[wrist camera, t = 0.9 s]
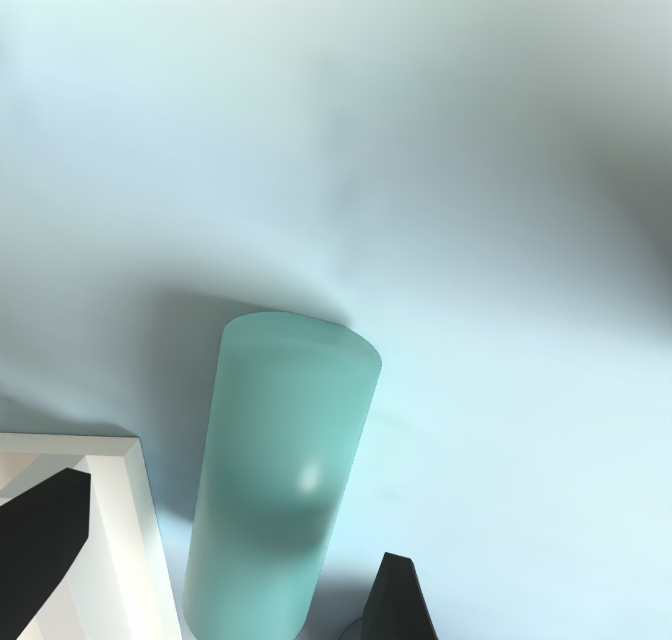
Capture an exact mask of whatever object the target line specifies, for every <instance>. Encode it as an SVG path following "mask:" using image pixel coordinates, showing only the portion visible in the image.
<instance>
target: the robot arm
mask: <svg viewBox="0 0 672 640" xmlns="http://www.w3.org/2000/svg"><path fill="white" fill-rule="evenodd" d="M90 492H91V474H90V473H86V472H82V471H79V470H75V469H71V468H65V469H63V470H61V471H59V472H58V473H56V474H54V475H52V476H51V477H49V478H47V479H45V480H44V481H42V482H40V483H39V484H37V485H35V486H34V487H32V488H30V489H28V490H27V491H25V492H23V493H22V494H20V495H18V496H16V497H15V498H13V499H11V500H10V501H8V502H6V503H4V504H3V505H1V506H0V640H17V638H18V637H19V636H20V634H21V633H22V632H23V631H24V629H25V628H26V627H27V625H28V624H29V623H30V622H31V620H32V619H33V618H34V616H35V615H36V614H37V613H38V611H39V610H40V609H41V607H42V606H43V605H44V603H45V602H46V601H47V599H48V598H49V597H50V596H51V594H52V593H53V592H54V590H55V589H56V588H57V586H58V585H59V584H60V582H61V581H62V580H63V578H64V577H65V575H66V573H67V572H68V570H69V569H70V567H71V565H72V564H73V562H74V561H75V559H76V557H77V556H78V554H79V552H80V551H81V549H82V547H83V546H84V544H85V542H86V541H87V539H88V537H89V518H90ZM360 640H438V638H437V635H436V632H435V630H434V627H433V624H432V621H431V618H430V615H429V612H428V609H427V606H426V603H425V600H424V597H423V594H422V591H421V588H420V584H419V581H418V578H417V574H416V571H415V567H414V563H413V562H412V560H411V559H410V558H406V557H402V556H399V555H395V554H391V553H387V552H385V554H384V557H383V559H382V562H381V565H380V568H379V570H378V573H377V576H376V579H375V581H374V584H373V587H372V589H371V592H370V595H369V598H368V600H367V603H366V606H365V609H364V613H363V621H362V630H361V639H360Z"/></svg>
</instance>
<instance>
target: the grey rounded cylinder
mask: <svg viewBox="0 0 672 640" xmlns="http://www.w3.org/2000/svg"><path fill="white" fill-rule="evenodd" d="M362 621H363V618H361V619H358V620H356V621H355V622H354V623H353V624H351V625H350V626H349V627H348V628H347V629H346V630H345V632H344V633H343V634H342V635H341V637H340V638H339V639H338V640H360V639H361V630H362Z"/></svg>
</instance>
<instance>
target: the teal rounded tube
mask: <svg viewBox="0 0 672 640" xmlns="http://www.w3.org/2000/svg"><path fill="white" fill-rule="evenodd" d="M381 367H382V361H381V358H380V355H379V353H378V352H377V350H376V349H375V348H374V347H373V346H372V345H371V344H370V343H369V342H368V341H367V340H366V339H364V338H363V337H361V336H360V335H358V334H357V333H355V332H353V331H352V330H350V329H348V328H346V327H343V326H341V325H338V324H334V323H330V322H326V321H322V320H319V319H315V318H311V317H307V316H303V315H299V314H295V313H291V312H282V311H264V312H255V313H249V314H245V315H242V316H239V317H237V318H235V319H233V320H231V321H230V322H229V323H228V324H227V325H226V326H225V327H224V329H223V332H222V337H221V344H220V350H219V357H218V364H217V370H216V377H215V383H214V390H213V397H212V403H211V410H210V416H209V423H208V430H207V436H206V443H205V449H204V456H203V463H202V469H201V476H200V483H199V489H198V496H197V502H196V509H195V516H194V522H193V529H192V535H191V542H190V549H189V555H188V562H187V568H186V575H185V582H184V588H183V596H182V607H183V613H184V617H185V620H186V623H187V625H188V627H189V629H190V630H191V632H192V633H193V635H194V636H195V637H196V638H197V639H198V640H293V639H294V638H295V637H296V636H297V635H298V633H299V632H300V630H301V629H302V627H303V625H304V623H305V620H306V617H307V614H308V611H309V607H310V604H311V601H312V597H313V594H314V591H315V587H316V584H317V581H318V577H319V574H320V571H321V567H322V564H323V561H324V557H325V554H326V551H327V547H328V544H329V541H330V537H331V534H332V531H333V527H334V524H335V521H336V517H337V514H338V511H339V507H340V504H341V501H342V497H343V494H344V491H345V487H346V484H347V481H348V477H349V474H350V471H351V467H352V464H353V461H354V457H355V454H356V451H357V447H358V444H359V441H360V437H361V434H362V430H363V427H364V424H365V420H366V417H367V414H368V410H369V407H370V404H371V400H372V397H373V394H374V390H375V387H376V384H377V380H378V377H379V374H380V370H381Z"/></svg>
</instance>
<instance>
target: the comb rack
mask: <svg viewBox="0 0 672 640" xmlns="http://www.w3.org/2000/svg"><path fill="white" fill-rule="evenodd" d="M65 468H71V469H75V470H79V471H82V472H86V473H90V474H91V492H90V518H89V537H88V539H87V541H86V542H85V544H84V546H83V547H82V549H81V551H80V552H79V554H78V556H77V557H76V559H75V561H74V562H73V564H72V565H71V567H70V569H69V570H68V572H67V573H66V575H65V577H64V578H63V580H62V581H61V582H60V584H59V585H58V586H57V588H56V589H55V590H54V592H53V593H52V594H51V596H50V597H49V598H48V599H47V601H46V602H45V603H44V605H43V606H42V607H41V609H40V610H39V611H38V613H37V614H36V615H35V616H34V618H33V619H32V620H31V622H30V623H29V624H28V625H27V627H26V628H25V629H24V631H23V632H22V633H21V634H20V636H19V637H18V638H17V640H182V636H181V631H180V626H179V622H178V617H177V612H176V608H175V603H174V598H173V594H172V589H171V584H170V580H169V575H168V570H167V565H166V561H165V556H164V551H163V547H162V542H161V537H160V533H159V528H158V523H157V519H156V514H155V509H154V504H153V500H152V495H151V490H150V486H149V481H148V476H147V472H146V467H145V462H144V458H143V453H142V448H141V444H140V439H139V438H129V437H102V436H75V435H48V434H22V433H0V506H1V505H3V504H4V503H6V502H8V501H10V500H11V499H13V498H15V497H16V496H18V495H20V494H22V493H23V492H25V491H27V490H28V489H30V488H32V487H34V486H35V485H37V484H39V483H40V482H42V481H44V480H45V479H47V478H49V477H51V476H52V475H54V474H56V473H58V472H59V471H61V470H63V469H65Z"/></svg>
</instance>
